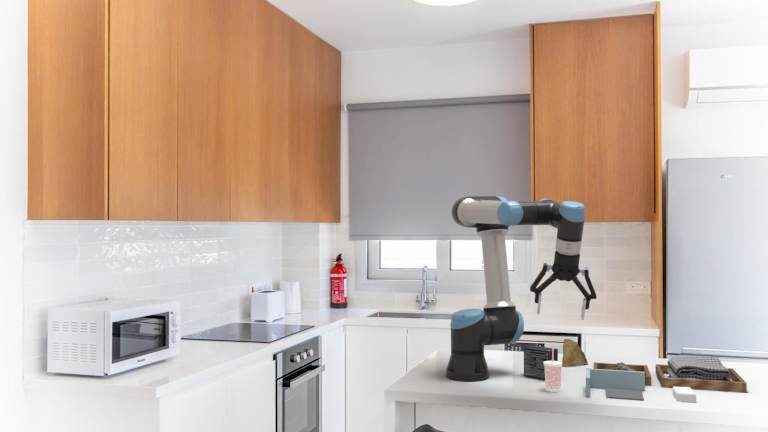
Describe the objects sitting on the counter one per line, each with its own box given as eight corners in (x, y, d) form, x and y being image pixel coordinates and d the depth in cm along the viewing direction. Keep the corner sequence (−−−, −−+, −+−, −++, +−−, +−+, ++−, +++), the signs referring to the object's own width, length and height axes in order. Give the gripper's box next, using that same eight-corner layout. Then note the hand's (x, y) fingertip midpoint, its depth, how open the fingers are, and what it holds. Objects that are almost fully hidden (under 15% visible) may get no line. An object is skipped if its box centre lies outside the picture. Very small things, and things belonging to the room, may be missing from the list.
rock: (587, 356, 268) (561, 351, 270) (591, 341, 263) (564, 336, 265) (586, 377, 260) (559, 373, 262) (590, 362, 255) (562, 358, 257)
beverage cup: (541, 387, 229) (541, 345, 229) (560, 387, 228) (560, 345, 228) (545, 392, 222) (545, 348, 222) (564, 392, 222) (564, 349, 222)
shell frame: (593, 382, 236) (593, 373, 236) (593, 370, 254) (593, 362, 254) (651, 385, 231) (651, 376, 231) (647, 373, 248) (647, 365, 248)
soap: (696, 403, 210) (696, 393, 210) (677, 402, 211) (677, 392, 211) (690, 396, 219) (690, 386, 219) (672, 395, 220) (672, 385, 220)
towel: (665, 376, 245) (665, 354, 245) (720, 378, 242) (720, 356, 242) (675, 386, 231) (675, 363, 231) (734, 389, 227) (734, 365, 227)
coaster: (606, 397, 215) (606, 396, 215) (605, 389, 226) (605, 388, 226) (644, 400, 212) (644, 399, 212) (641, 391, 223) (641, 390, 223)
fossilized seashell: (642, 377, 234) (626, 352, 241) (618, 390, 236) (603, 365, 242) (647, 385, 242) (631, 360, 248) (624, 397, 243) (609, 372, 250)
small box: (559, 378, 242) (559, 348, 242) (549, 381, 237) (549, 351, 237) (532, 373, 249) (532, 344, 249) (522, 376, 244) (522, 347, 244)
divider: (586, 396, 217) (586, 377, 217) (586, 386, 230) (586, 368, 230) (647, 401, 211) (647, 381, 211) (644, 390, 225) (644, 371, 225)
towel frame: (661, 387, 229) (661, 378, 229) (655, 372, 250) (655, 364, 250) (746, 392, 221) (746, 383, 221) (732, 377, 243) (732, 368, 243)
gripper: (526, 251, 212) (519, 314, 218) (610, 259, 207) (601, 325, 213) (526, 243, 219) (520, 306, 225) (608, 252, 214) (600, 315, 220)
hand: (560, 315), depth 219 cm, fingers open, 13 cm apart
